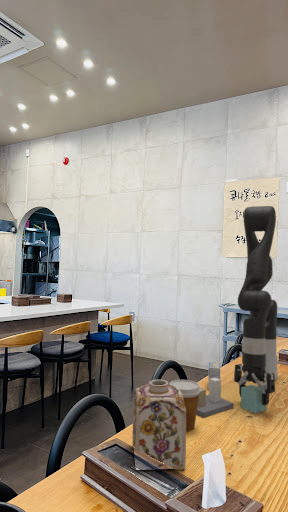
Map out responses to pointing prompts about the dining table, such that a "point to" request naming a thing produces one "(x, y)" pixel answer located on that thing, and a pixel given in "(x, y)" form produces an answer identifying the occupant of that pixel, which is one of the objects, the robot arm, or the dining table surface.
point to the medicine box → (213, 371)
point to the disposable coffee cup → (189, 399)
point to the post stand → (212, 400)
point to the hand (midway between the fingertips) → (253, 400)
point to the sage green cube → (252, 399)
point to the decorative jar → (160, 423)
